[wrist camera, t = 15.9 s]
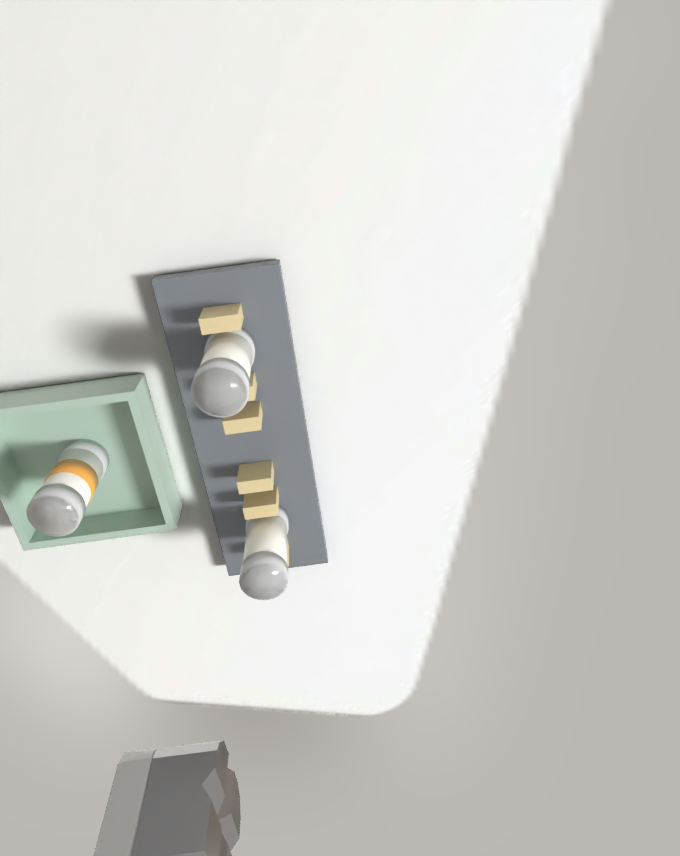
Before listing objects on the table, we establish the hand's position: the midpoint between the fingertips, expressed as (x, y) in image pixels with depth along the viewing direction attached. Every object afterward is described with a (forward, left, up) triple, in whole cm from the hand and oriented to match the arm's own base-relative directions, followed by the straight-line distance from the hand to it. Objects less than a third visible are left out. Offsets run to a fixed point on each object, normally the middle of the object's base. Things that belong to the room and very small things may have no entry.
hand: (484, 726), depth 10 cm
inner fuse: (+5, -8, -33) cm, 34 cm away
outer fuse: (+19, -8, -33) cm, 39 cm away
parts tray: (+12, -20, -34) cm, 41 cm away
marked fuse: (+12, -20, -34) cm, 41 cm away
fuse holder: (+12, -8, -34) cm, 37 cm away
